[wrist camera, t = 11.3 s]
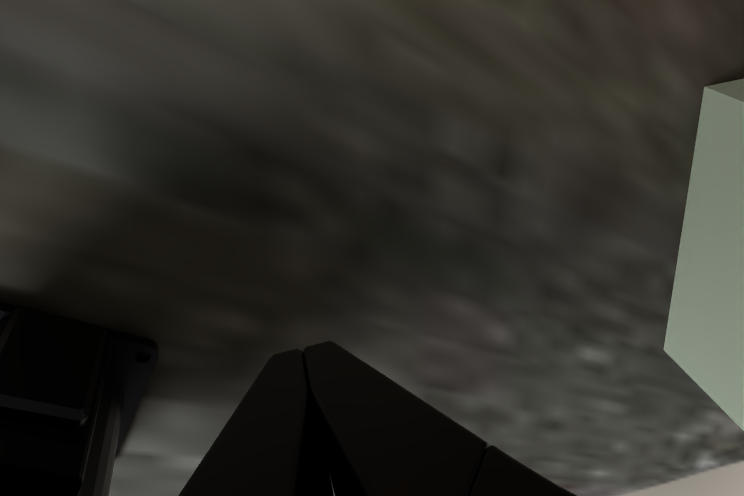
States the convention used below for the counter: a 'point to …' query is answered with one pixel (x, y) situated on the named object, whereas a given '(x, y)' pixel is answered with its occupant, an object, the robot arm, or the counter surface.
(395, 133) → the counter surface
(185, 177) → the counter surface
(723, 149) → the block
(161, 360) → the counter surface
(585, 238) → the counter surface
